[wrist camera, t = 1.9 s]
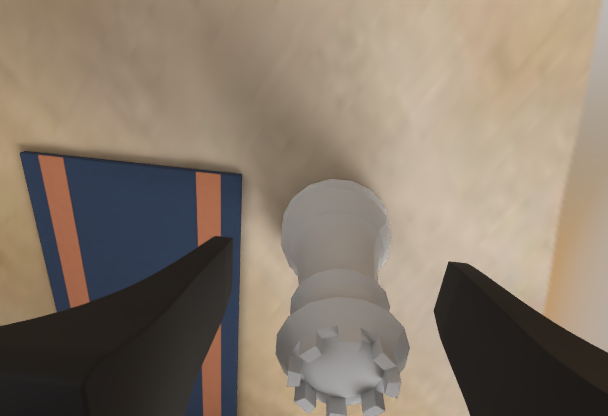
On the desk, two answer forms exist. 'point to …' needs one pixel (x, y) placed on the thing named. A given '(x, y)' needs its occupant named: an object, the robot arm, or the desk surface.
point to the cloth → (137, 241)
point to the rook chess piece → (339, 301)
